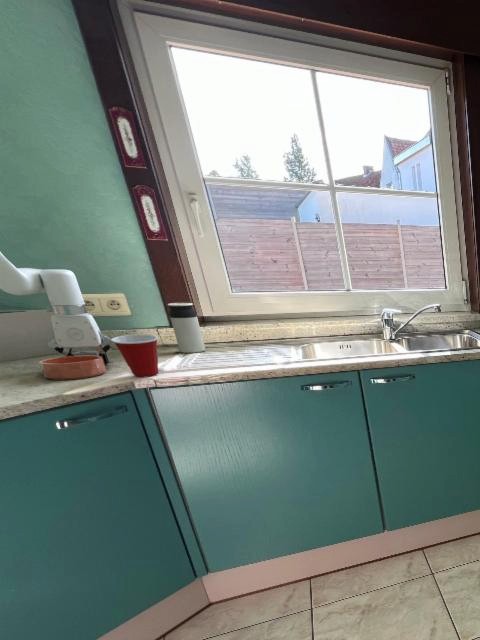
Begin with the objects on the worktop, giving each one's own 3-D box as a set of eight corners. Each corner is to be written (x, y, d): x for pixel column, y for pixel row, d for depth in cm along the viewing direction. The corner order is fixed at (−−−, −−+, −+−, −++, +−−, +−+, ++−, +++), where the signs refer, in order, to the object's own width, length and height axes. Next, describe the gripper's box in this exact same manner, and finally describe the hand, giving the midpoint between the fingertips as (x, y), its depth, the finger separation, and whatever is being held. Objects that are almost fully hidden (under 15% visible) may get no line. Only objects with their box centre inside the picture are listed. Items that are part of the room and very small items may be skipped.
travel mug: (208, 351, 192) (196, 304, 186) (183, 354, 186) (169, 305, 180) (202, 348, 197) (189, 302, 190) (177, 351, 191) (163, 303, 184)
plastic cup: (126, 381, 148) (112, 341, 144) (121, 374, 155) (108, 336, 150) (171, 375, 156) (160, 337, 151) (165, 370, 162) (154, 333, 158)
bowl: (37, 382, 144) (30, 365, 142) (55, 372, 155) (49, 356, 153) (99, 378, 150) (93, 362, 148) (112, 369, 161) (107, 354, 159)
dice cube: (80, 367, 162) (74, 352, 161) (101, 365, 166) (95, 350, 164) (79, 369, 159) (74, 354, 157) (101, 367, 162) (95, 352, 160)
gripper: (26, 312, 149) (49, 370, 155) (103, 311, 157) (121, 366, 163) (37, 310, 155) (58, 366, 161) (110, 308, 163) (128, 362, 169)
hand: (90, 365), depth 162 cm, fingers open, 6 cm apart
